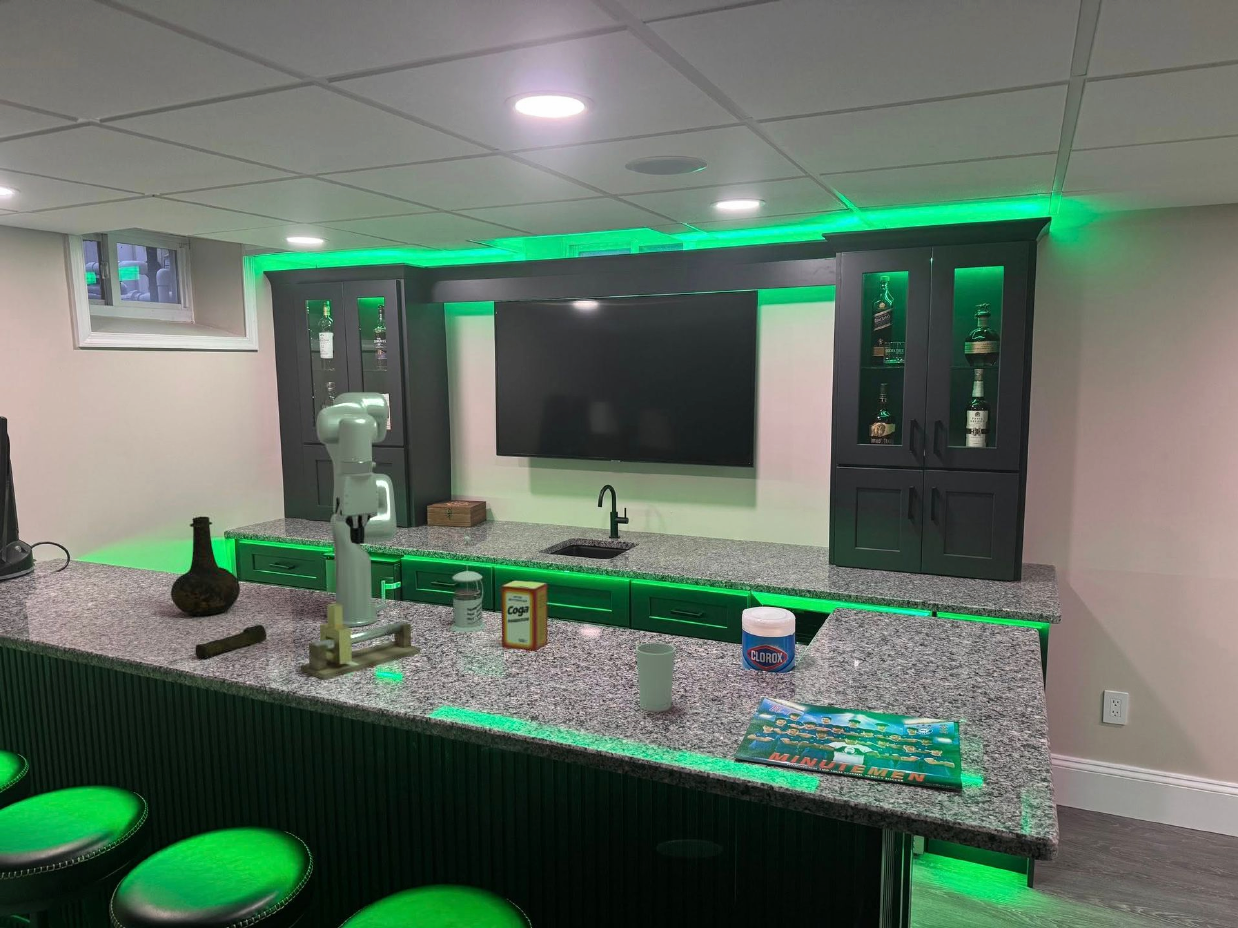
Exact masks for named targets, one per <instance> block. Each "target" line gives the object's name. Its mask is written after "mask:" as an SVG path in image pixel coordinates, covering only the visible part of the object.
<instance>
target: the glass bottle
mask: <svg viewBox="0 0 1238 928" xmlns="http://www.w3.org/2000/svg"><path fill="white" fill-rule="evenodd" d="M210 525H213V522H211V521H210V517H209V516H197V517H196V516H195V517H193V518H192V523H189V527H191V528H192V534H193V535H192V556H191V558H192V559H191V564H190V568H189V570H188V571H187V572H184V573H183V574H182V575H180V576H179V577H177V579H175V581H174V582H173V584H172V586H171V588H170V597H171V599H172V600H171V601H172V602H173V604H174V605H175V607H177V608H178V610H180V611H181V612H182V613H185V614H187V615H189V616H198V617H199V616H200V617H202V616H211V615H215V614H221V613H223V612H225V611H227V610H228V609H230V608H231V607H232V606H233V605H234V604H235V603H236V601H237V600H238V598H239V595H240V592H241V586H240V582H239V580H238V578H237V576H236V575H235V574H234V573H232V572H230V571H229V570H228V569H227V568H224V567H220V566H219V565H218V563H217V562H216V558H215V554H214V550H213V549H214V548H213V544H212V543H213V542H212V536H211V527H210Z"/></svg>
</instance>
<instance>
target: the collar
mask: <svg viewBox="0 0 1238 928" xmlns="http://www.w3.org/2000/svg"><path fill="white" fill-rule="evenodd" d="M326 612H327V622H325V623H321V624H319V632H320V633H319V636H320V638H319V639H320V641H319V642H321V641H325V640H329V639H333V638H334V649H332V650H328V651H326V654H327V660H329V661H332V662H335V663H338V664H343V663H347V662H351V661H352V657H351V652H352V645H351V634H352V628H351V627H346V626H343V618H342V605H340V604H336V602H333V603H329V604H327V606H326Z"/></svg>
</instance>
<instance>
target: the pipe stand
mask: <svg viewBox="0 0 1238 928" xmlns="http://www.w3.org/2000/svg"><path fill="white" fill-rule="evenodd" d="M399 622H403V621H401V620H400V621H396V622H393V624H395V623H399ZM405 623H406V624H403V625H401V626H402V631H401V632H399V633H395V634H393V635H394V640H393V641H389V642H385V643H382V644H378V645H374V646H369V647H367V648H362V649H359V650H355V651H351V657H352V661H351V662H347V663H343V664H338V663H335V662H332V661H329V660H327V654H326V645H325V644H322V645H315V644H314V643H316V642H317V641H313V642H310V643H309V642H308V658H309V659H308V663H304V664H301V665H300V671H301V672H303V673H305V674H308V675H310V676H314V677H316V678H318V679H320V680H323V681H325V680H328V679H333V678H336V677H340V676H343V675H347V674H351V673H354V672H357V671H360V670H361V671H362V670H365V669H369V668H372V667H375V666H379V665H382V664H386V663H389V662H393V661H397V660H400V659H404V658H408V657H410V656H414V655H418V654H421V648H420V647H418V646H414V645H412V631H411V630H412V627H411V623H407V622H405Z"/></svg>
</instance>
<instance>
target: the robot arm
mask: <svg viewBox="0 0 1238 928" xmlns="http://www.w3.org/2000/svg"><path fill="white" fill-rule="evenodd" d="M388 418H389V406H388V402H387V399H386V397H385V396H384V395H383V394H381V393H380V392H370V391H369V392H365V391H364V392H344V393H341V394H339V395H338V396H336V397H335V399H334V401H333V403H332V405H331V406H328V407H327V406H326V407H324V408H322V409H321V410H320V411H319V412H318V415H317V418H316V435H317V438H318V440H319V442H320V443H321V444H323V445H325V448H326V450H327V452H328V455H329V457H330V459H331V461H332V466H333V494H332V495H333V496H332V498H333V499H332V510H333V514H332V516H331V518H330V532H331V537H332V542H333V543H332V544H333V550H334V551H333V552H334V553H333V554H334V574H335V575H334V577H335V603H336V604H340V605H342V618H343V626H346V627H349V628H351V627H363V626H368V625H371V624H373V623H375V622H377V621H378V618H379V617H378V614H377V612H378V611H383V610H387V608H388V605H387V602H380V603H377V602H373V600H372V566H371V565H372V564H371V563H372V561H371V557H370V555H369V553H368V551H366V550H365V548H363V547H362V546H361V544H365V543H367V544H368V543H382V542H383V543H384V542H389V541H392V540H393V539H394V538H395V537H396V534H397V516H396V515H397V514H396V503H395V492H394V487H393V486H394V485H393V481H392V480H391V478H390V476H388V474H384V473H374V472H373V468H376V467H377V462H375V461H373V450H372V449H373V446H372V443H373V444H375V443H381V442H383V441H384V440H385V438H386V436H387V432H388V431H387V429H388V420H389V419H388Z"/></svg>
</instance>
